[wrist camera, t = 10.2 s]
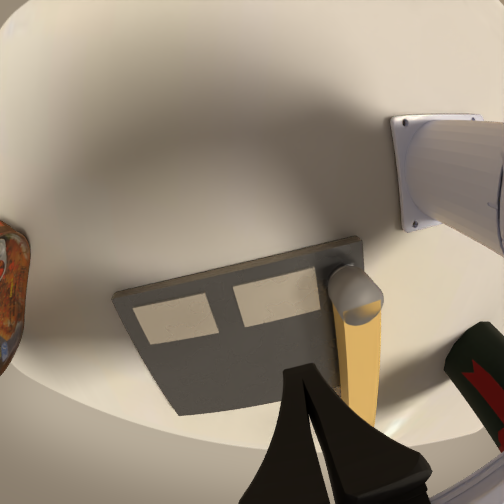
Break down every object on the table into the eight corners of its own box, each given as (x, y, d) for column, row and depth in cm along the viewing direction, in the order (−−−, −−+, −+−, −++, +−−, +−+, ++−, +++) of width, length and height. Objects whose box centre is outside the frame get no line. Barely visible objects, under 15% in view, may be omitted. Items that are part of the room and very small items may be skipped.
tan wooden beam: (324, 272, 17) (337, 292, 15) (366, 261, 17) (383, 277, 15) (340, 419, 23) (347, 438, 21) (367, 410, 23) (375, 428, 21)
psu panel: (356, 235, 18) (365, 243, 17) (361, 370, 23) (366, 381, 22) (116, 292, 19) (108, 302, 18) (179, 407, 24) (178, 420, 22)
